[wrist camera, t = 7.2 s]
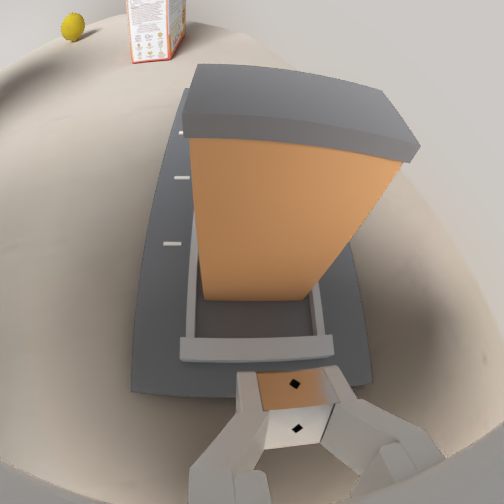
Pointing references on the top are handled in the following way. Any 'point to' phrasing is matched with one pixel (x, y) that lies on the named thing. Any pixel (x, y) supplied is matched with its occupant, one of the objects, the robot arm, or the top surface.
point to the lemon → (73, 27)
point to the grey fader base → (229, 308)
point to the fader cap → (283, 174)
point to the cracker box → (155, 28)
